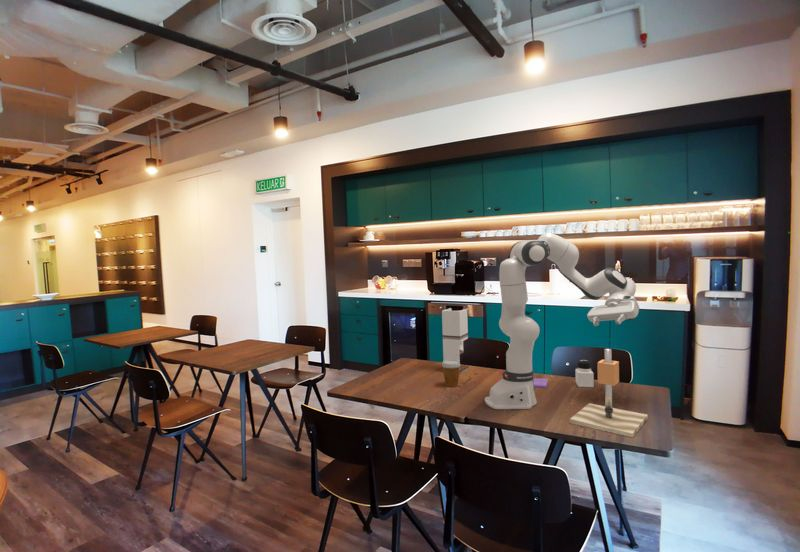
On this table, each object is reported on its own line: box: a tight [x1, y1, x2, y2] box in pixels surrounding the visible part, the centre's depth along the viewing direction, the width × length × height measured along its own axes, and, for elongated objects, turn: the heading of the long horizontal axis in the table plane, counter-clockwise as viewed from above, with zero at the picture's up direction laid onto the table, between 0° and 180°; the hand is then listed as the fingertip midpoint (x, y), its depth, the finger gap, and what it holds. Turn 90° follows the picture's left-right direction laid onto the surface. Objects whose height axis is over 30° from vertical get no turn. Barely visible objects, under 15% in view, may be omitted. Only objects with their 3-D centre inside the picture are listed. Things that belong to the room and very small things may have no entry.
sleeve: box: [596, 359, 620, 387], centre depth 165 cm, size 6×6×8 cm
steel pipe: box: [604, 348, 614, 418], centre depth 165 cm, size 3×3×26 cm
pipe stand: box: [569, 403, 649, 438], centre depth 166 cm, size 22×22×2 cm
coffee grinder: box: [441, 307, 470, 374], centre depth 244 cm, size 11×11×35 cm
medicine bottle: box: [574, 359, 595, 388], centre depth 210 cm, size 7×7×12 cm
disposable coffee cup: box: [441, 360, 462, 388], centre depth 217 cm, size 10×10×12 cm
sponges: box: [533, 377, 549, 389], centre depth 215 cm, size 7×13×2 cm, turn 158°
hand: (606, 323), depth 178 cm, fingers open, 8 cm apart
